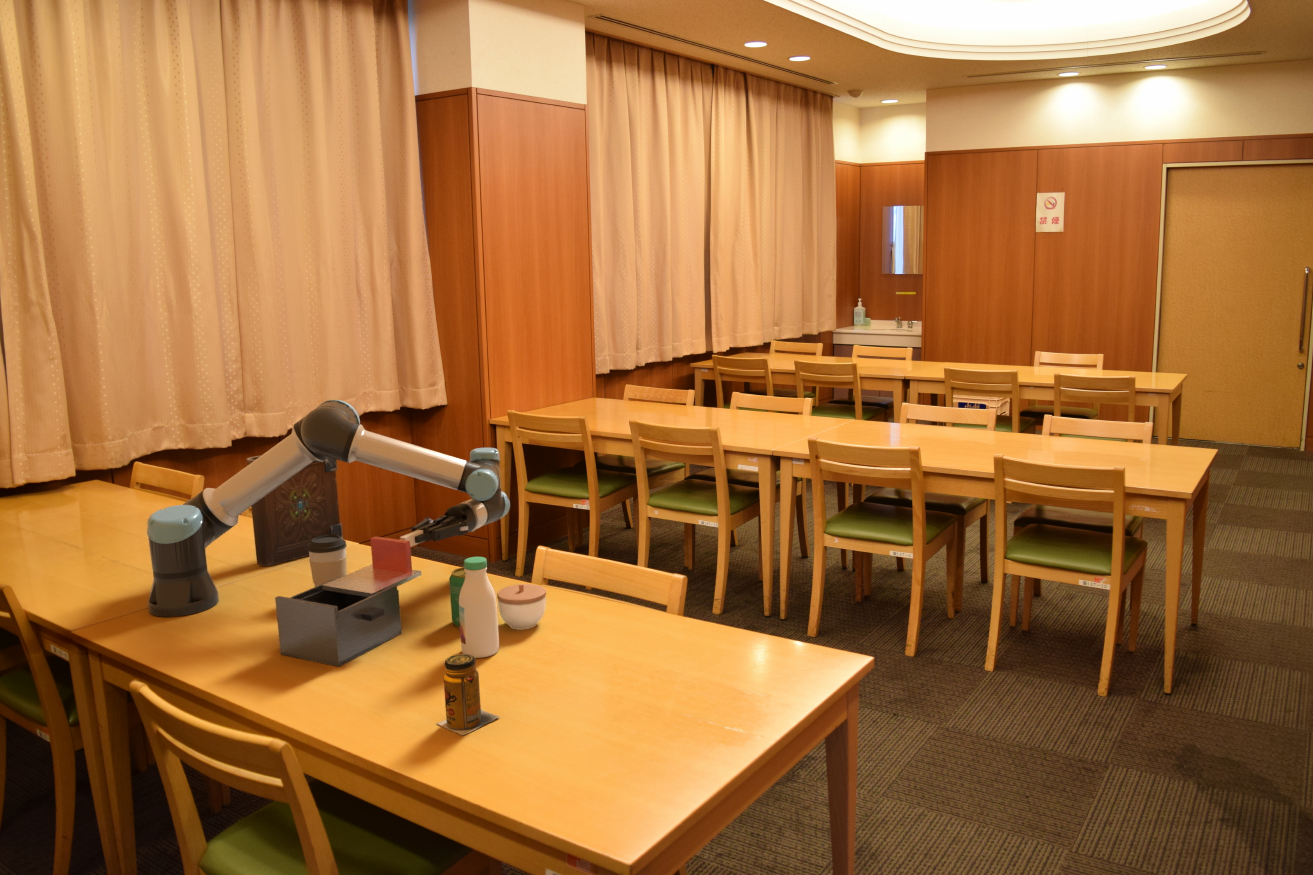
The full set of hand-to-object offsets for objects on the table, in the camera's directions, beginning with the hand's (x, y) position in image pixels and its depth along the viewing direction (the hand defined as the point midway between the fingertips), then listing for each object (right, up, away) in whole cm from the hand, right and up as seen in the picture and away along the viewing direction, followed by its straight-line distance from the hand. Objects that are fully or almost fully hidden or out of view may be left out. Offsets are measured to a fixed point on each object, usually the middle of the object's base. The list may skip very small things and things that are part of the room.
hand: (402, 543), depth 221 cm
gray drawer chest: (-9, -20, -14) cm, 26 cm away
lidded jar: (+28, -18, -5) cm, 34 cm away
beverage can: (+16, -18, -3) cm, 24 cm away
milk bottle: (+21, -21, -20) cm, 36 cm away
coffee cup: (-22, -15, +16) cm, 31 cm away
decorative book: (-42, -9, +49) cm, 65 cm away
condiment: (+25, -26, -50) cm, 62 cm away
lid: (-5, -8, -7) cm, 11 cm away
